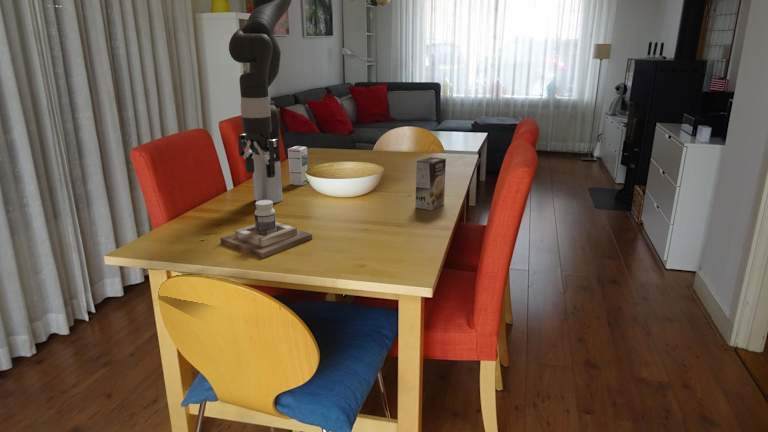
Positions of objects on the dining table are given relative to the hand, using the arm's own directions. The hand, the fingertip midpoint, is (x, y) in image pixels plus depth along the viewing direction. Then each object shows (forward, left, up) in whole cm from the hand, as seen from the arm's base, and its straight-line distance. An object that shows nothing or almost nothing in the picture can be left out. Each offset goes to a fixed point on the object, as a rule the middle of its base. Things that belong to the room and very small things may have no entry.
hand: (260, 174), depth 143 cm
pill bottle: (0, 0, -18) cm, 18 cm away
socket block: (0, 0, -19) cm, 19 cm away
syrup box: (-40, +50, -20) cm, 67 cm away
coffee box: (+18, +56, -20) cm, 62 cm away
